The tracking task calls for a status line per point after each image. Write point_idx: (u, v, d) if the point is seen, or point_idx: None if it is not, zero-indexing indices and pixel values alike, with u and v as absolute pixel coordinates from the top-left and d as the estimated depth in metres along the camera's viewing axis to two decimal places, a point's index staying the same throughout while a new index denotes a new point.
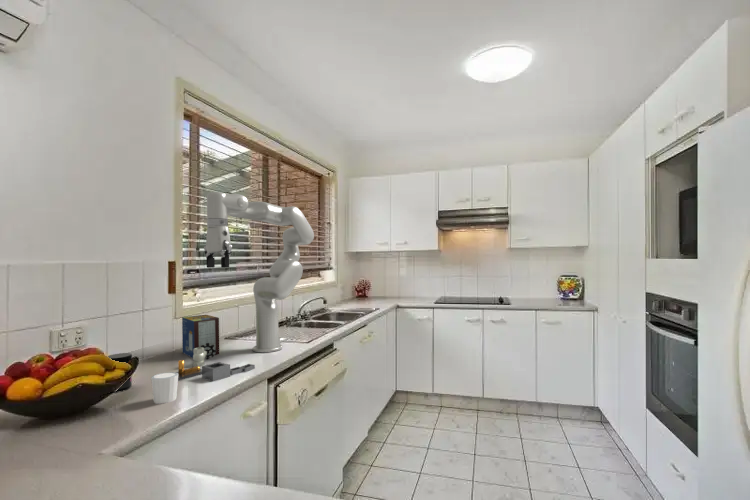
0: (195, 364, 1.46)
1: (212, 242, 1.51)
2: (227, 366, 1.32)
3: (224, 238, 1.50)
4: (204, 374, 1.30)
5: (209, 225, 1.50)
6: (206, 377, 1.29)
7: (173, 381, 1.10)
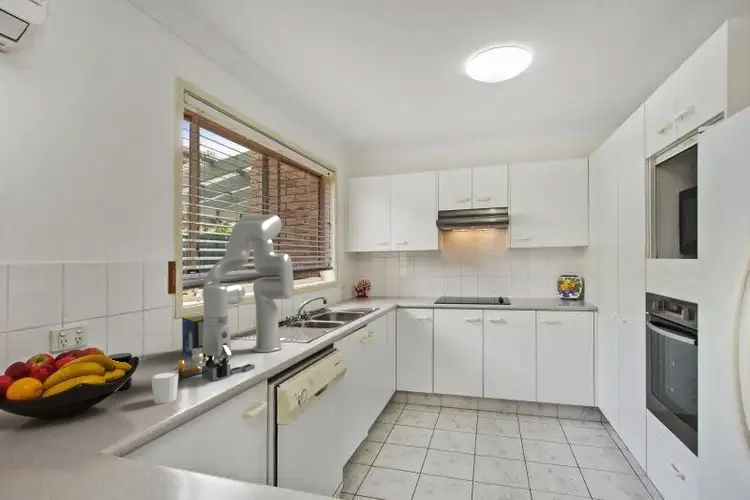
0: (194, 365, 1.45)
1: (209, 345, 1.30)
2: (227, 366, 1.32)
3: (223, 341, 1.29)
4: (204, 374, 1.30)
5: (206, 326, 1.29)
6: (206, 377, 1.29)
7: (173, 381, 1.10)
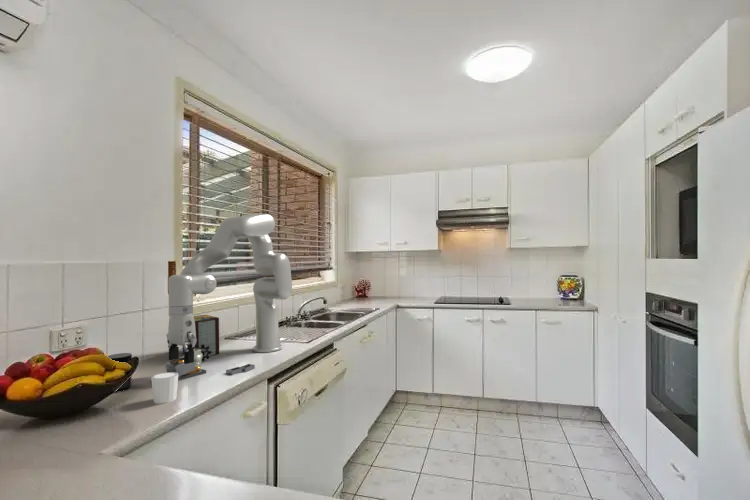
0: None
1: (174, 333, 1.31)
2: None
3: (188, 329, 1.30)
4: (168, 371, 1.32)
5: (170, 314, 1.30)
6: None
7: (173, 381, 1.10)
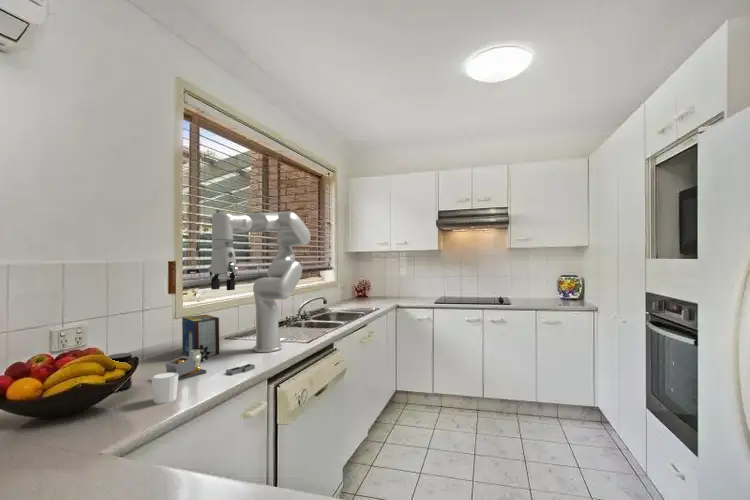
0: None
1: (217, 264, 1.47)
2: (190, 360, 1.33)
3: (229, 260, 1.46)
4: (168, 371, 1.32)
5: (214, 246, 1.46)
6: None
7: (173, 381, 1.10)
